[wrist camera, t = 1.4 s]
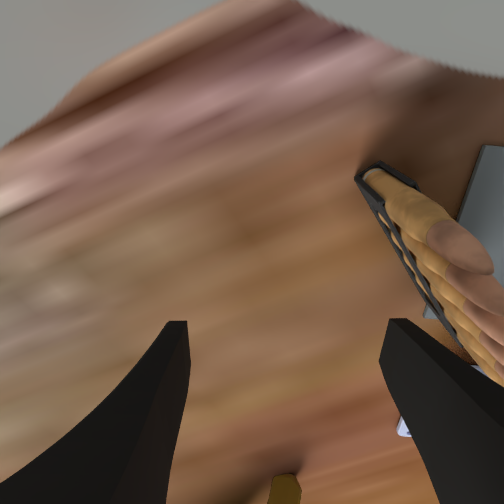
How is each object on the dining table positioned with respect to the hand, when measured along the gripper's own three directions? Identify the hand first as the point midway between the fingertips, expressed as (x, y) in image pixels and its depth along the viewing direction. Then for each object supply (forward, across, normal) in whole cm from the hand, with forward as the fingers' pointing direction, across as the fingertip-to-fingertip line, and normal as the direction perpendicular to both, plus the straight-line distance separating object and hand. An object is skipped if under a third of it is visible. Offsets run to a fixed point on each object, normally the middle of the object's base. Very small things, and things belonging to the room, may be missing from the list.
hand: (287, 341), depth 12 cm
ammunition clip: (+10, -9, +1) cm, 14 cm away
